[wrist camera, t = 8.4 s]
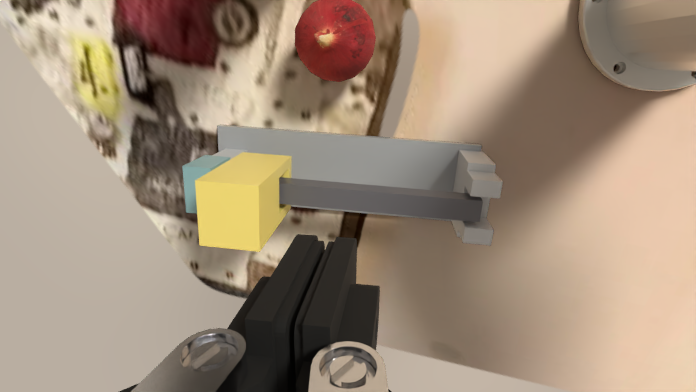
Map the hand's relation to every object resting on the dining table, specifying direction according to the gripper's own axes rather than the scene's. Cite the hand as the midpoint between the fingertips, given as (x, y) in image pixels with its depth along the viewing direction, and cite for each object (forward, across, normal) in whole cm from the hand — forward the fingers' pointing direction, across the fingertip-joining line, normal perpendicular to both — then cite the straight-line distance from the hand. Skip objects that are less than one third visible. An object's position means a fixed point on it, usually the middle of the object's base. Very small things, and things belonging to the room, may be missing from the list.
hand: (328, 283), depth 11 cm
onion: (+25, +4, -7) cm, 27 cm away
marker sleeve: (+21, +9, +4) cm, 23 cm away
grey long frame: (+25, +3, +4) cm, 25 cm away
